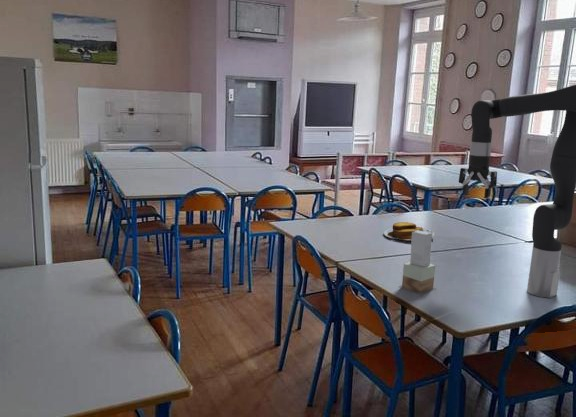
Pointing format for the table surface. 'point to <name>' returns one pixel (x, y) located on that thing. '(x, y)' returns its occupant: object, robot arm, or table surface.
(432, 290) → the mat
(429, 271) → the upper block
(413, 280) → the lower block
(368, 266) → the table surface
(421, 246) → the skincare box
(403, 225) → the food on plate
